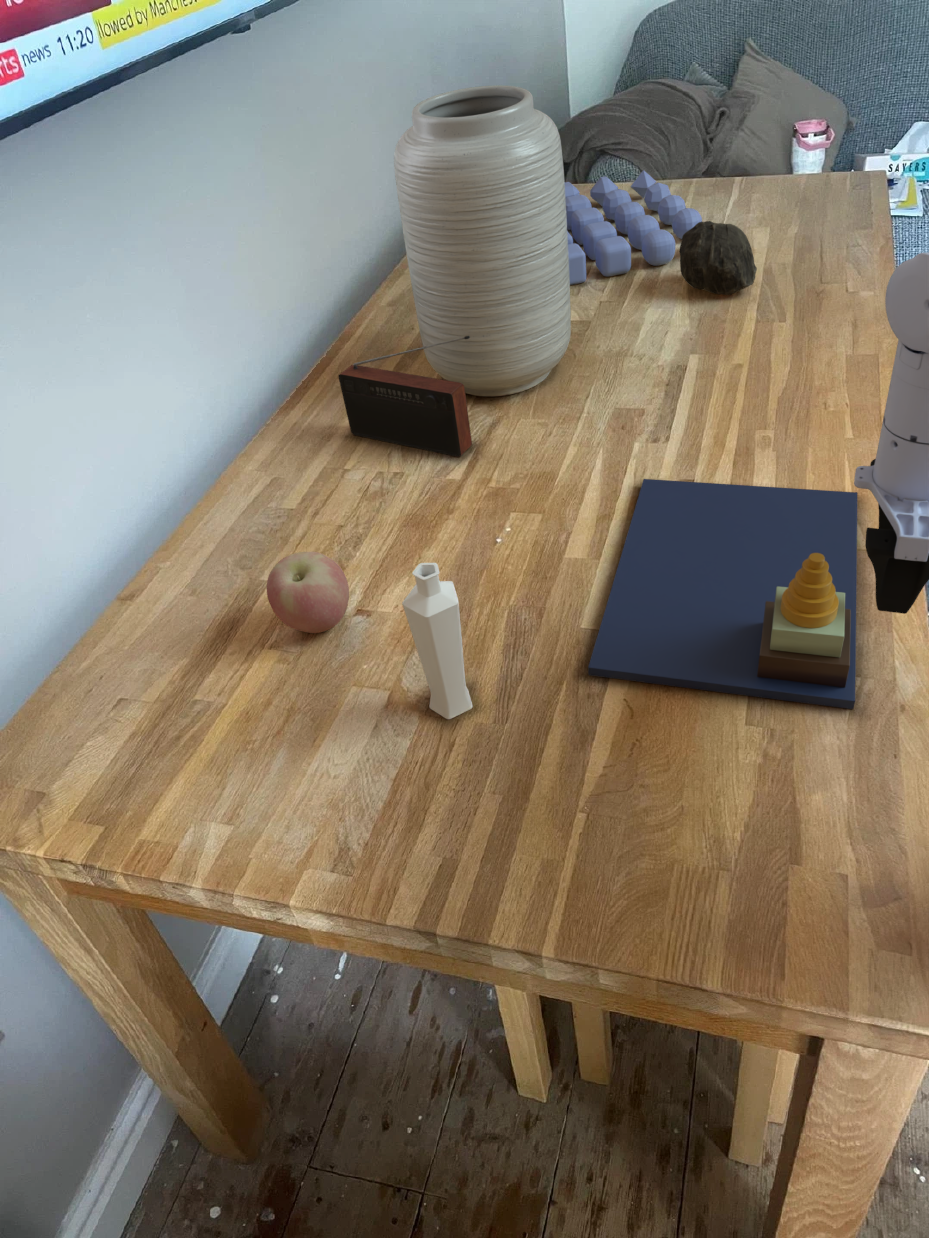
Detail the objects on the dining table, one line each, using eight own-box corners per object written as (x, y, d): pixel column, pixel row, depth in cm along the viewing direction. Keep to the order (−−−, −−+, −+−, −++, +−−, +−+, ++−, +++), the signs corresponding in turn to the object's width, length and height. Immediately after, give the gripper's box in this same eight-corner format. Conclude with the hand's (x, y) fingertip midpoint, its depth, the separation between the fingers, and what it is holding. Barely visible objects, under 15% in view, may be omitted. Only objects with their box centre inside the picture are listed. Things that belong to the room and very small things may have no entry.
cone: (848, 615, 77) (859, 561, 73) (805, 635, 75) (813, 581, 72) (811, 586, 80) (819, 533, 76) (769, 605, 79) (775, 552, 75)
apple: (263, 635, 93) (241, 572, 88) (314, 590, 97) (295, 528, 92) (323, 661, 89) (303, 597, 84) (372, 613, 94) (356, 549, 88)
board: (853, 709, 77) (855, 701, 76) (588, 675, 84) (587, 667, 83) (856, 500, 98) (857, 492, 97) (643, 486, 104) (643, 478, 104)
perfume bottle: (464, 727, 81) (440, 594, 71) (420, 715, 82) (390, 583, 73) (486, 690, 84) (466, 558, 74) (442, 679, 85) (417, 548, 76)
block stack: (845, 688, 77) (854, 643, 74) (757, 677, 80) (761, 633, 76) (846, 631, 82) (855, 587, 79) (763, 622, 84) (768, 579, 81)
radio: (349, 436, 121) (324, 325, 111) (363, 424, 122) (339, 314, 113) (474, 462, 112) (458, 345, 102) (486, 449, 114) (472, 333, 104)
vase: (568, 406, 119) (552, 118, 97) (414, 411, 123) (365, 135, 101) (578, 335, 134) (567, 70, 112) (440, 341, 138) (403, 87, 116)
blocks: (471, 226, 173) (467, 198, 170) (652, 192, 175) (652, 163, 172) (511, 298, 147) (508, 267, 143) (723, 257, 148) (725, 225, 145)
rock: (750, 299, 134) (747, 225, 129) (672, 305, 139) (666, 235, 134) (764, 278, 141) (761, 207, 136) (689, 284, 146) (684, 217, 141)
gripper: (868, 369, 70) (843, 517, 79) (860, 476, 60) (832, 632, 69) (973, 374, 68) (935, 526, 77) (983, 486, 58) (937, 645, 67)
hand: (892, 577), depth 73 cm, fingers open, 7 cm apart
